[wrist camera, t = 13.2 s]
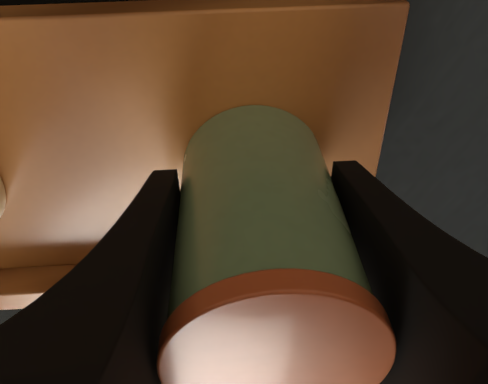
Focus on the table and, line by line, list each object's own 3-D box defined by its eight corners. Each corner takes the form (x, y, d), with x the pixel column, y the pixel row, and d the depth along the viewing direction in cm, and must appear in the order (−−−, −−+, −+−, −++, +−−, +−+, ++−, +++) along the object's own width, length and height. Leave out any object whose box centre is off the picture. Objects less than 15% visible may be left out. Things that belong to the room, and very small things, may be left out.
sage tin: (334, 201, 14) (405, 402, 9) (207, 234, 14) (204, 440, 9) (309, 80, 11) (387, 263, 6) (156, 125, 12) (112, 327, 7)
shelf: (365, -32, 13) (432, 16, 9) (334, 196, 19) (368, 289, 15) (-197, -12, 13) (-389, 48, 9) (-61, 216, 18) (-140, 318, 14)
